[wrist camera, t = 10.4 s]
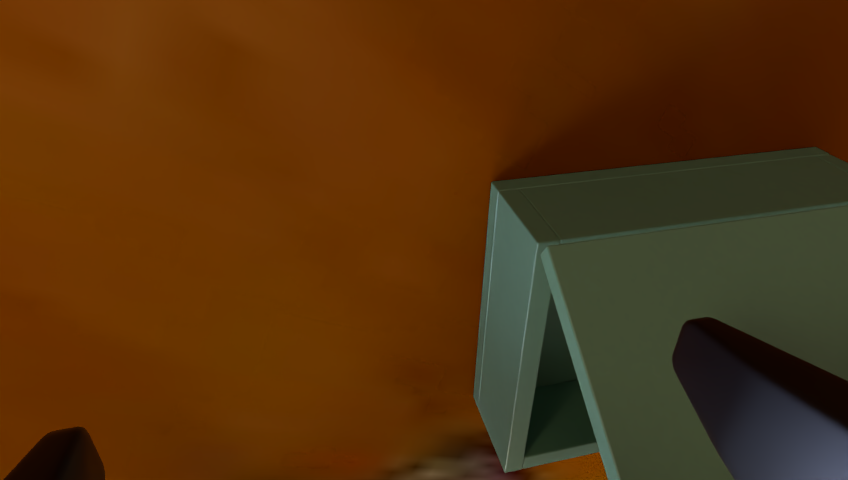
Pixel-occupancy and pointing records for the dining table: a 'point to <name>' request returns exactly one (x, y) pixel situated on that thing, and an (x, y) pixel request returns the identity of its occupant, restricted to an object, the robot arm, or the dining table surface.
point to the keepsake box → (588, 220)
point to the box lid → (684, 300)
